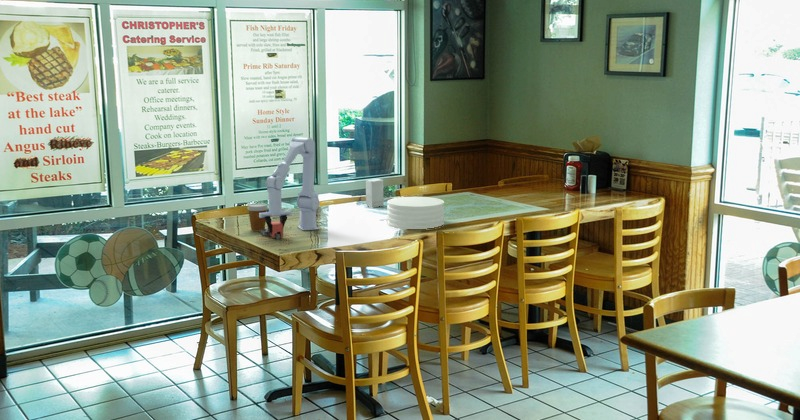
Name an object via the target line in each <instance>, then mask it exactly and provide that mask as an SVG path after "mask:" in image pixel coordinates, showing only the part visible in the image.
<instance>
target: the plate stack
mask: <svg viewBox="0 0 800 420" xmlns="http://www.w3.org/2000/svg"><path fill="white" fill-rule="evenodd" d="M386 204H387V206H386V209H387V211H386V215H387V216H386V218H387V219H386V220H387V224H386V225H387V226H388V227H390V228H393V227H394V228H393V229H398V228H400V230H407V229H426V230H428V229H427V228H434V227H438V226H441V225H443V224H444V225H445V211H444V210H445V201H444V200H443V199H440V198H436V197H428V196H401V197H400V196H399V197H393V198H391V199H388V200H387V201H386ZM444 225H443V226H444Z"/></svg>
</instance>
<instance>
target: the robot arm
mask: <svg viewBox="0 0 800 420" xmlns="http://www.w3.org/2000/svg"><path fill="white" fill-rule="evenodd" d="M315 153H316V142H315V141H314V140H313V138H312V137H299V136H293V138H292V139H291V141H290V142H289V148H288V151H287V153H286V155H285V157H284V159H283V160H282V162H280V163H277V166H276V168H275V169H274V170H273V172H272V174H271V175H270V176H268V177H267V178H266V180H265V183H264V184H265V187H266V189H267V193H268V211H267V212H263V213H259V217H260V218H262V217H264V219H265V221H266V222H265V224H266V226H267V229H268V230H269V233H271V222H272V217H273V218H275V217H279V222H281V223H282V224H283V229H284V228H285V224H286V222H287V220H288V216H292V210H282V189H283V187H284V185H285V181H286V177H287V175H288V174H289V172H290V170H291V168H290V166H291V164H292V163H293V161H295V159H296V157H297V156H298V155H301V157H302V182H301V183H302V187H301V191H299V192H298V193H297V194H298V195H297V199H296V206H297V208H298V210H299V225H297V228H299V229H300V230H302V231H312V230H313V231H314V230H319V227H317V210H318V208H319V207H320V199H319V194H318V193H317V192H316V191H315V190H314V189H315V188H314V187H315V159H316V158H315V156H316V154H315Z"/></svg>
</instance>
